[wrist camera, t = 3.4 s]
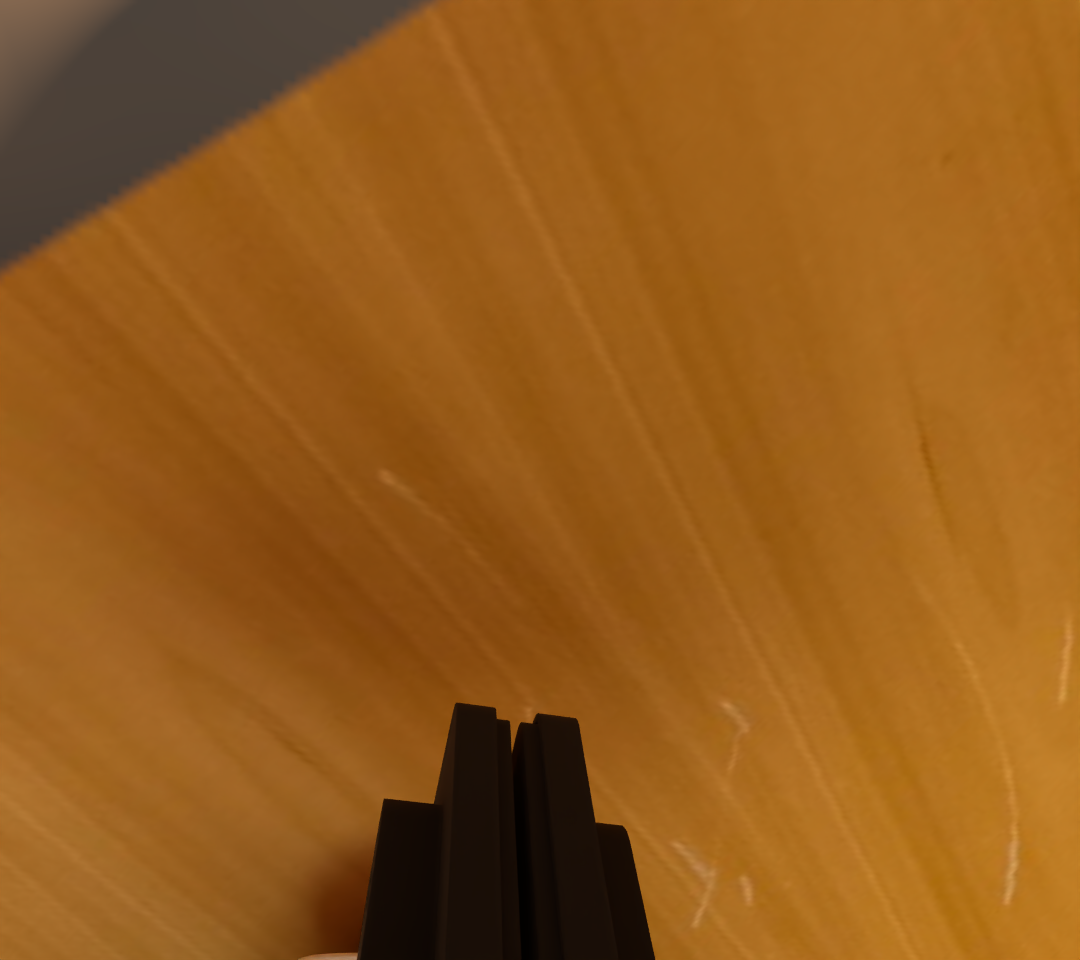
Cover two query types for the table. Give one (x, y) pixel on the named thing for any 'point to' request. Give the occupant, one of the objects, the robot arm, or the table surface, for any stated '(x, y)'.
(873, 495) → the table surface
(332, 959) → the paper roll
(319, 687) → the table surface
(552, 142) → the table surface
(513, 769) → the robot arm
